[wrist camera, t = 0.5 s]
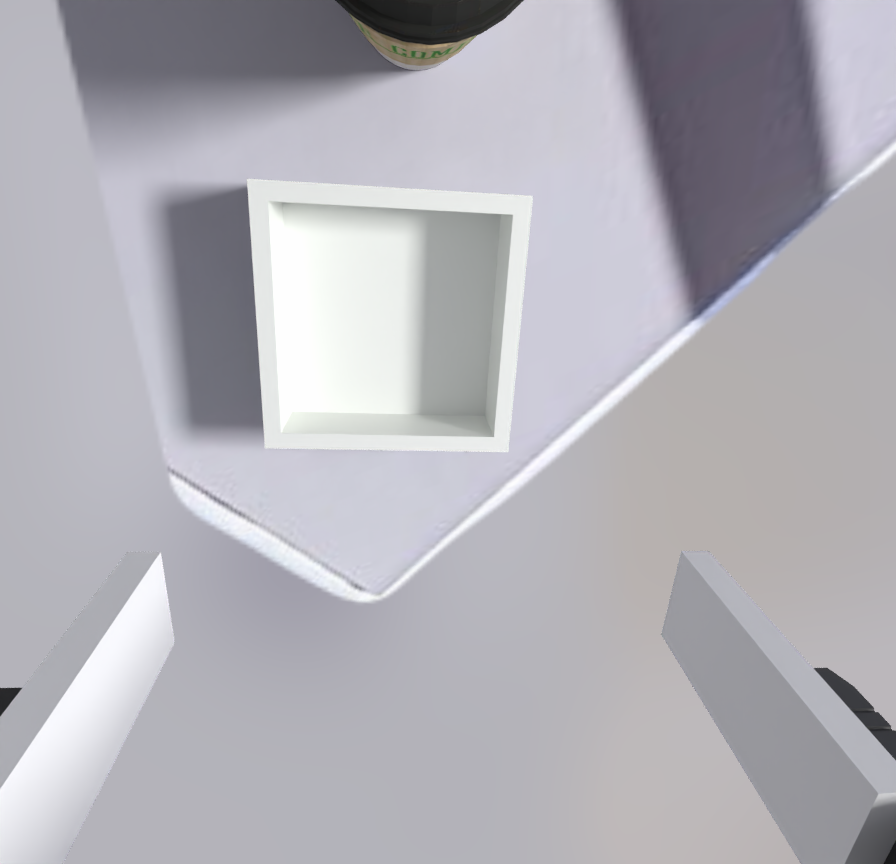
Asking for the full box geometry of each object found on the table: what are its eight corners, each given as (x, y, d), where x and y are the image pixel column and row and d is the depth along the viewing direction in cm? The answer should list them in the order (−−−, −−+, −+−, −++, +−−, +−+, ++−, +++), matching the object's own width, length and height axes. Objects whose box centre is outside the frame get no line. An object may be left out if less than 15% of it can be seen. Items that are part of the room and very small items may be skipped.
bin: (267, 183, 34) (246, 178, 29) (515, 198, 35) (533, 196, 31) (280, 420, 39) (264, 448, 35) (495, 424, 41) (508, 452, 36)
